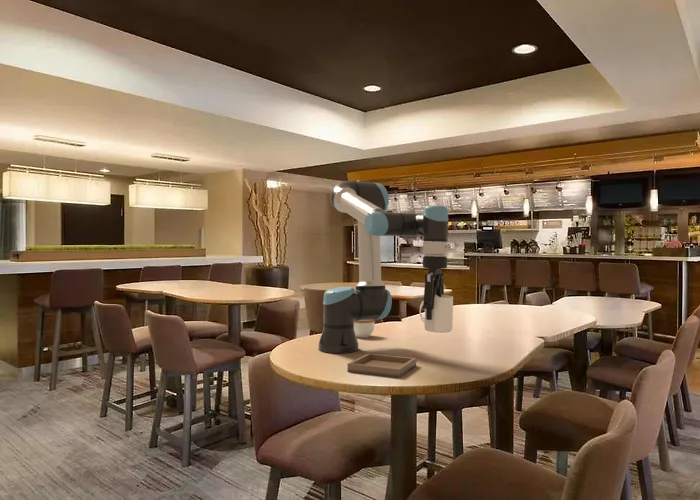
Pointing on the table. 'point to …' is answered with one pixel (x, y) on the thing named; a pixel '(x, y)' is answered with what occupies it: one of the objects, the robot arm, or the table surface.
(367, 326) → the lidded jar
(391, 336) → the table surface
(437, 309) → the mug
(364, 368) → the tray
